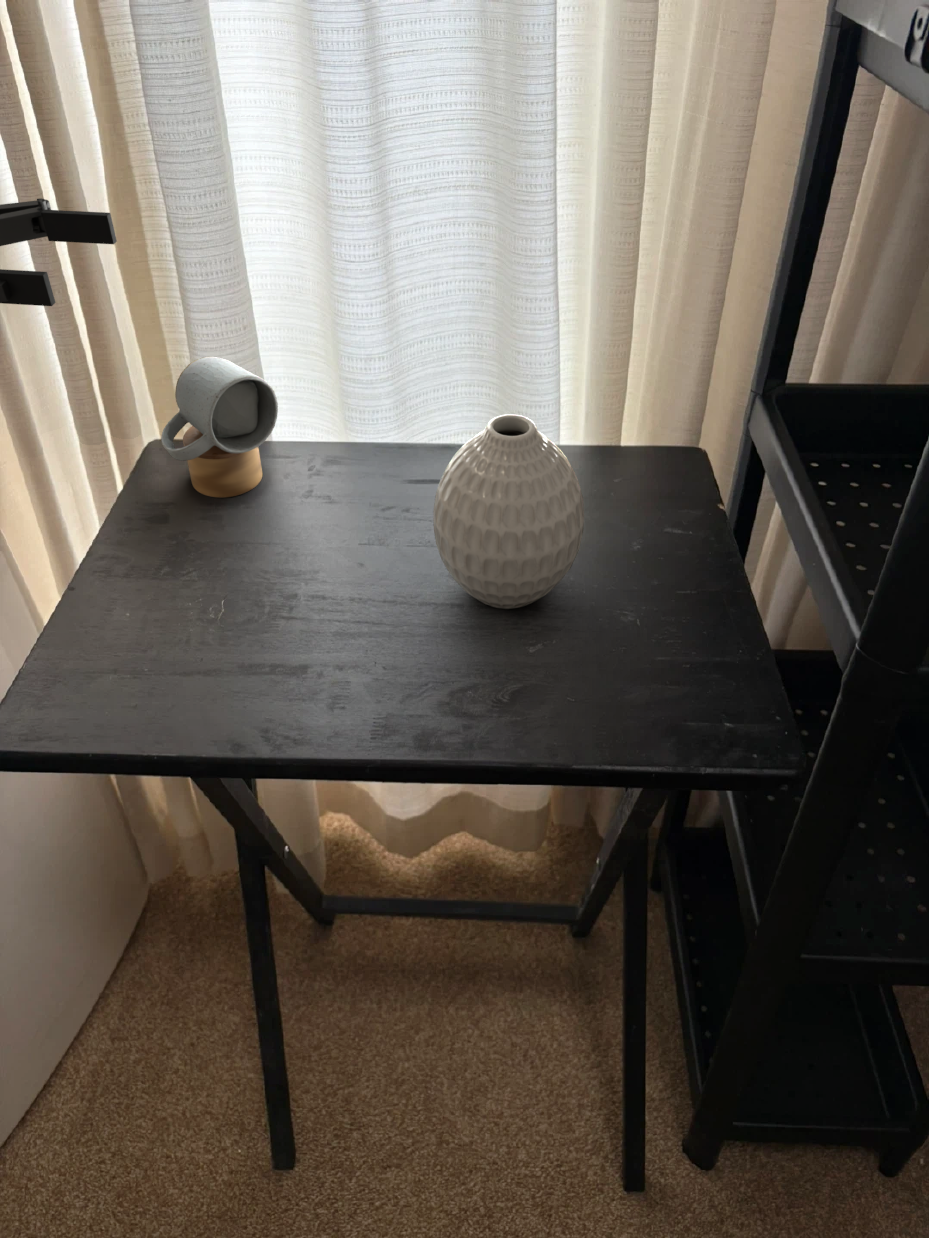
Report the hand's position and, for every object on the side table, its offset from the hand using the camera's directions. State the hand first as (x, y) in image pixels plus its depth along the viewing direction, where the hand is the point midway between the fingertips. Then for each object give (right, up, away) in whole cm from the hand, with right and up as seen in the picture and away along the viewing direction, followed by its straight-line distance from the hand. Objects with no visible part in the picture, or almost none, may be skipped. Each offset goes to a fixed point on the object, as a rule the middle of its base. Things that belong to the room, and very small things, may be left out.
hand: (82, 257), depth 92 cm
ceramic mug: (+10, -15, +10) cm, 20 cm away
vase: (+38, -30, +1) cm, 48 cm away
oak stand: (+10, -18, +14) cm, 25 cm away
